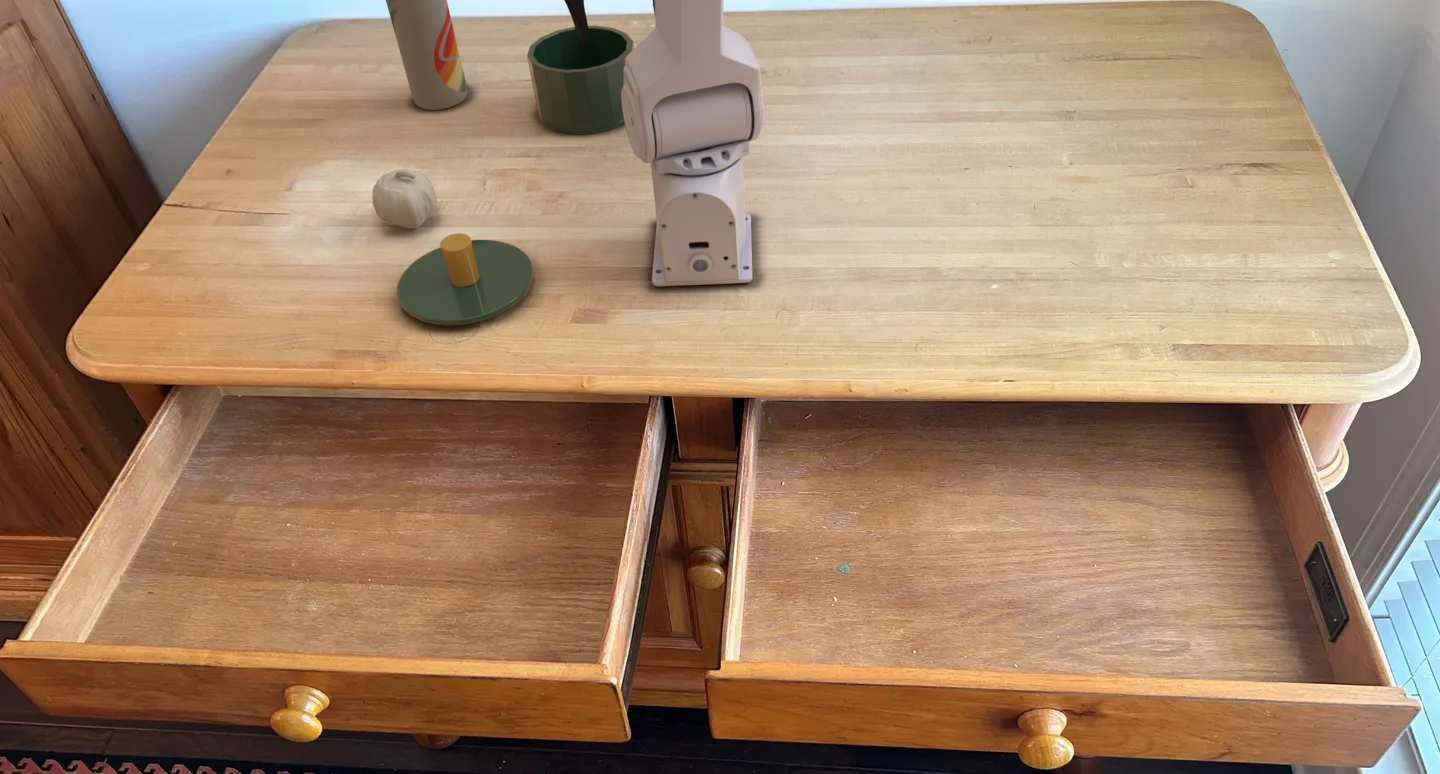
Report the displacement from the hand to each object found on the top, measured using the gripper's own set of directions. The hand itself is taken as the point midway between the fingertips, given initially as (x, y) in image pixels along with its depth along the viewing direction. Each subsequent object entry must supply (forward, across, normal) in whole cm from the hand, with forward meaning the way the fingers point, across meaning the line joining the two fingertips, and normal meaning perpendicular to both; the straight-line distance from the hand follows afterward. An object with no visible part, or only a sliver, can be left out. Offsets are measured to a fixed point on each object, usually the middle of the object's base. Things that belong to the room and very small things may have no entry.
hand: (622, 28), depth 98 cm
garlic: (+10, +23, +8) cm, 26 cm away
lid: (+9, +21, +20) cm, 30 cm away
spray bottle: (+10, +17, -14) cm, 24 cm away
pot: (+10, +3, -5) cm, 11 cm away
